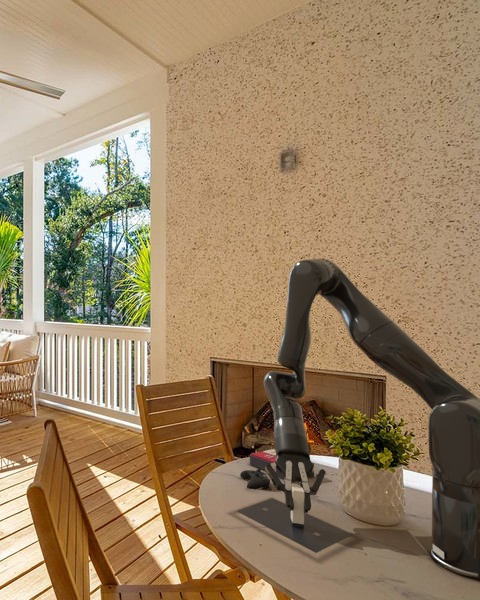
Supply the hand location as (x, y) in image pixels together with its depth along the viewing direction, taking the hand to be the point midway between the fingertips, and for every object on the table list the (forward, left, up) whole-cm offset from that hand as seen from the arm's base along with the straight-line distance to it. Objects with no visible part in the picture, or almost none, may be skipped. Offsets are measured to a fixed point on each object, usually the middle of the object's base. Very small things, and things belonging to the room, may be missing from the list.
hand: (299, 510), depth 97 cm
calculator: (+25, -30, -5) cm, 39 cm away
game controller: (+22, -14, -5) cm, 26 cm away
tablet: (+3, -2, -5) cm, 6 cm away
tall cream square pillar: (+1, -2, -4) cm, 5 cm away
